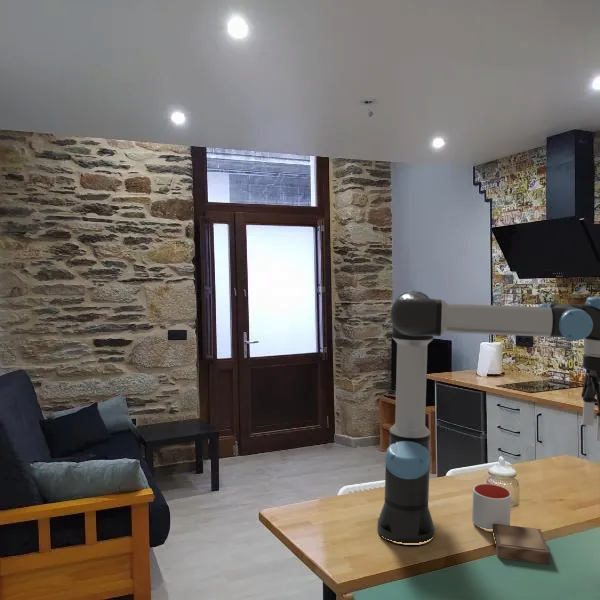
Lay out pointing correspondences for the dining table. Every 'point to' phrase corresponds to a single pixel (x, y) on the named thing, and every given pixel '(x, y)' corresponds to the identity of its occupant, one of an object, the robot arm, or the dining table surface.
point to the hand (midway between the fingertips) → (594, 432)
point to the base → (520, 543)
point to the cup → (491, 505)
